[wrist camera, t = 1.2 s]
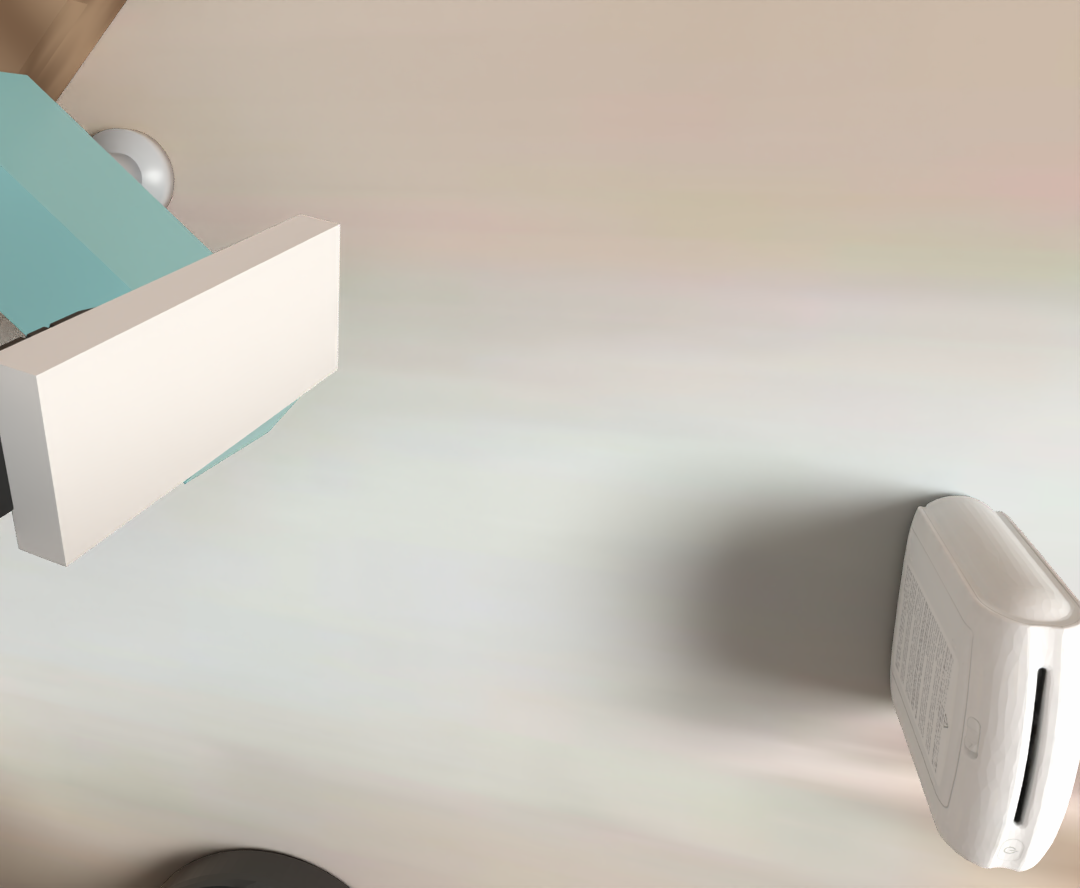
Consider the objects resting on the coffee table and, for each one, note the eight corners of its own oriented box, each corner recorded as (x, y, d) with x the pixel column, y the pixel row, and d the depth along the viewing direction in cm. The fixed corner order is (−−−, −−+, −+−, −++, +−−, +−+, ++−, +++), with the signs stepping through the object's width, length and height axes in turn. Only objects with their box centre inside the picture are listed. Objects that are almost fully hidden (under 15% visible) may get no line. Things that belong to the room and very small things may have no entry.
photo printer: (978, 713, 45) (1077, 911, 33) (879, 703, 45) (941, 894, 33) (1013, 496, 42) (1135, 627, 30) (906, 489, 42) (985, 614, 31)
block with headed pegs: (311, 405, 46) (184, 484, 34) (47, 153, 44) (-172, 151, 33) (366, 344, 44) (253, 405, 33) (97, 84, 43) (-114, 56, 32)
